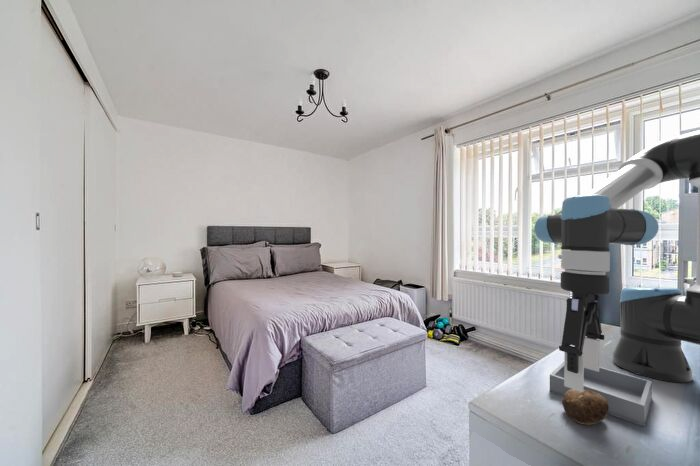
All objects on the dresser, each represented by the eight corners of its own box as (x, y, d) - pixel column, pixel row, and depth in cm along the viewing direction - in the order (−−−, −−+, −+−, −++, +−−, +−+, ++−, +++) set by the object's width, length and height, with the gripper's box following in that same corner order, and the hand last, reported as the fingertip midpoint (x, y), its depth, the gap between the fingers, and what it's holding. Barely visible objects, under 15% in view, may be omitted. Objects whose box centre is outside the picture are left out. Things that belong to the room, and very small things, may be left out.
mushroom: (620, 405, 55) (598, 378, 56) (623, 440, 49) (599, 409, 50) (576, 406, 60) (557, 382, 61) (574, 438, 55) (553, 411, 56)
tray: (568, 372, 75) (568, 357, 75) (651, 398, 63) (651, 381, 63) (549, 391, 65) (549, 374, 65) (644, 426, 53) (644, 405, 53)
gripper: (576, 268, 67) (575, 356, 66) (541, 272, 51) (539, 389, 50) (619, 271, 61) (619, 368, 60) (594, 278, 45) (593, 409, 45)
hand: (582, 378), depth 55 cm, fingers open, 13 cm apart
